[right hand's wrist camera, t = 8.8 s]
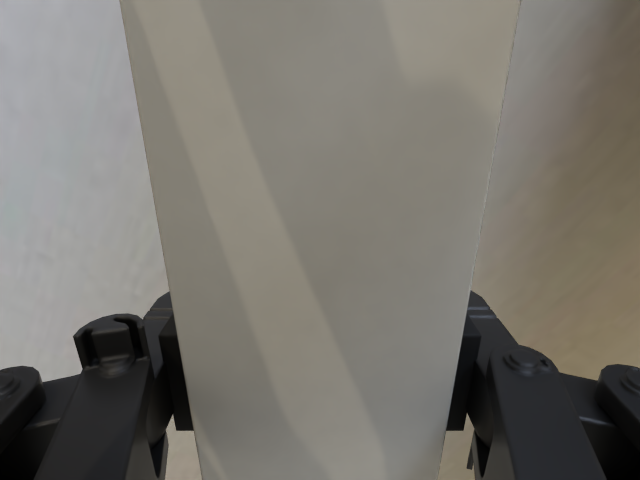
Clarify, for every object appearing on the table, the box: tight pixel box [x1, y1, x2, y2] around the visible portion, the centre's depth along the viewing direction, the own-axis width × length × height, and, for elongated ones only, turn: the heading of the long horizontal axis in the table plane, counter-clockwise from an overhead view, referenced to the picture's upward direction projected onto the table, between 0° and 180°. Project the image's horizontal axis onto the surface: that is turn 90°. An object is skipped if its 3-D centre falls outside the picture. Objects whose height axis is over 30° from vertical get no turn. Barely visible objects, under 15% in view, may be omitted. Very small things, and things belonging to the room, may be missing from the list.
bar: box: [120, 0, 521, 480], centre depth 9 cm, size 22×5×8 cm, turn 0°
